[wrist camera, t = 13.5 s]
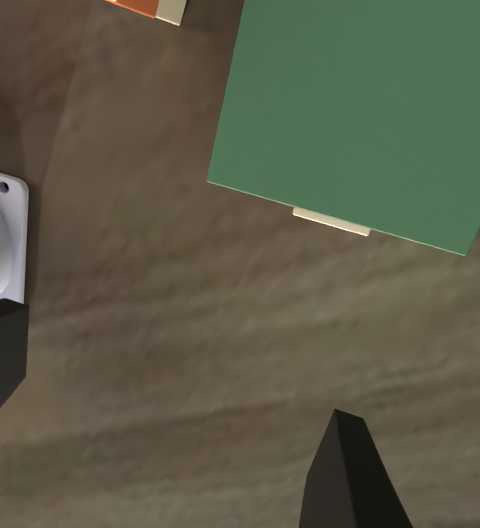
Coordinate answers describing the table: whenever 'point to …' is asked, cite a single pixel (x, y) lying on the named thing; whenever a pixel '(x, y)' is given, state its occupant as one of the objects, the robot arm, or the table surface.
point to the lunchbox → (358, 115)
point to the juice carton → (156, 8)
